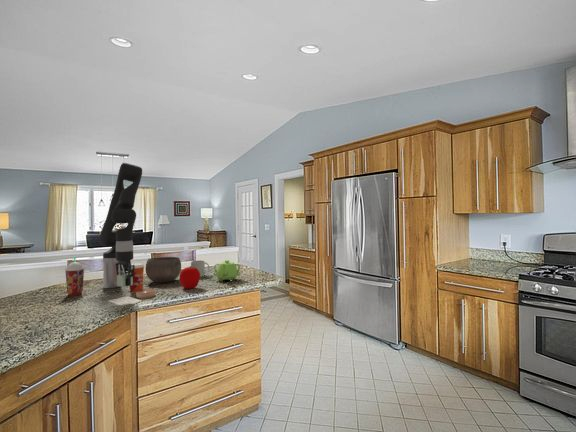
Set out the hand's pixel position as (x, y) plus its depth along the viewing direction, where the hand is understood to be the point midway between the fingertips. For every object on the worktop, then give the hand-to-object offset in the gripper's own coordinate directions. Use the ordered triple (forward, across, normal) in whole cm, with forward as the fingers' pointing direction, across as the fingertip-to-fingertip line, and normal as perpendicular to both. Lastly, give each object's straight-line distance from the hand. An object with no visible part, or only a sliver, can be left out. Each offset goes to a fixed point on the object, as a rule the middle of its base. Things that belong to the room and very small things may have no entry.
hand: (125, 285), depth 151 cm
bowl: (+8, +25, -37) cm, 45 cm away
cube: (0, 0, 0) cm, 0 cm away
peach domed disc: (+8, 0, -10) cm, 13 cm away
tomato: (+9, -4, -35) cm, 36 cm away
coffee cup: (+8, +15, -14) cm, 22 cm away
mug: (+8, +21, -61) cm, 65 cm away
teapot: (+9, -5, -62) cm, 63 cm away
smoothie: (+8, +36, +8) cm, 38 cm away
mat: (+8, -1, -5) cm, 10 cm away
